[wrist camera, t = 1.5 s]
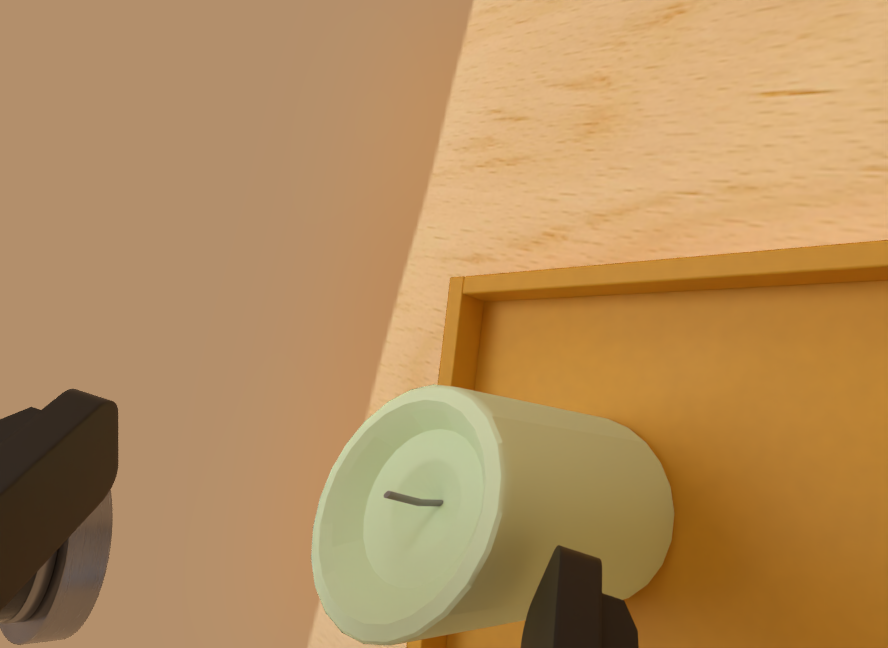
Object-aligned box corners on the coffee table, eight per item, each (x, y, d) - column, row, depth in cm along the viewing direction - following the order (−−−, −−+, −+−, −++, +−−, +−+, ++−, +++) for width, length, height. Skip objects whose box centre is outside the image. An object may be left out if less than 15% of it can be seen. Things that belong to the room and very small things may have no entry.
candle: (517, 418, 22) (302, 380, 16) (674, 414, 18) (479, 365, 12) (512, 591, 20) (279, 621, 15) (678, 619, 17) (467, 673, 11)
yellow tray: (438, 697, 22) (398, 708, 21) (483, 290, 24) (449, 277, 23) (1807, 1309, 8) (1947, 1462, 7) (1628, 212, 10) (1709, 166, 9)
